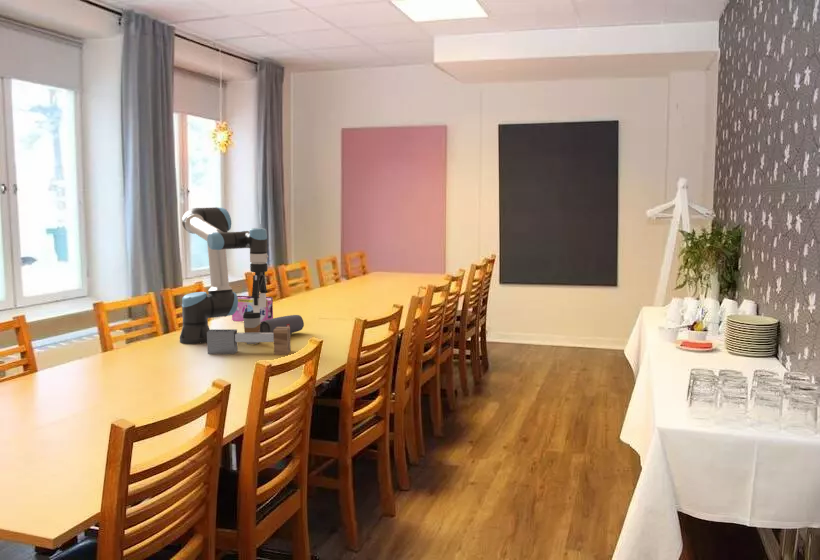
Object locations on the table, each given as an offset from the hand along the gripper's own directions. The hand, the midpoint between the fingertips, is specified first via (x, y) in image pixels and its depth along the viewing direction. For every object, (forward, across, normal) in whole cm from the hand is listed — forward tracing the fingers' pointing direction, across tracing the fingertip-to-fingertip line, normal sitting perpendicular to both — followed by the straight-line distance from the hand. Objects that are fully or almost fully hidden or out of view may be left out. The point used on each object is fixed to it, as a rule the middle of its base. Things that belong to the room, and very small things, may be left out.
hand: (259, 309), depth 325 cm
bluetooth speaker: (+20, +36, -4) cm, 41 cm away
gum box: (+21, +80, +21) cm, 86 cm away
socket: (+19, -2, -10) cm, 22 cm away
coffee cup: (+20, +19, +8) cm, 28 cm away
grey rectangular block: (+19, -1, +17) cm, 26 cm away
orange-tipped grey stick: (+14, -1, +1) cm, 14 cm away
